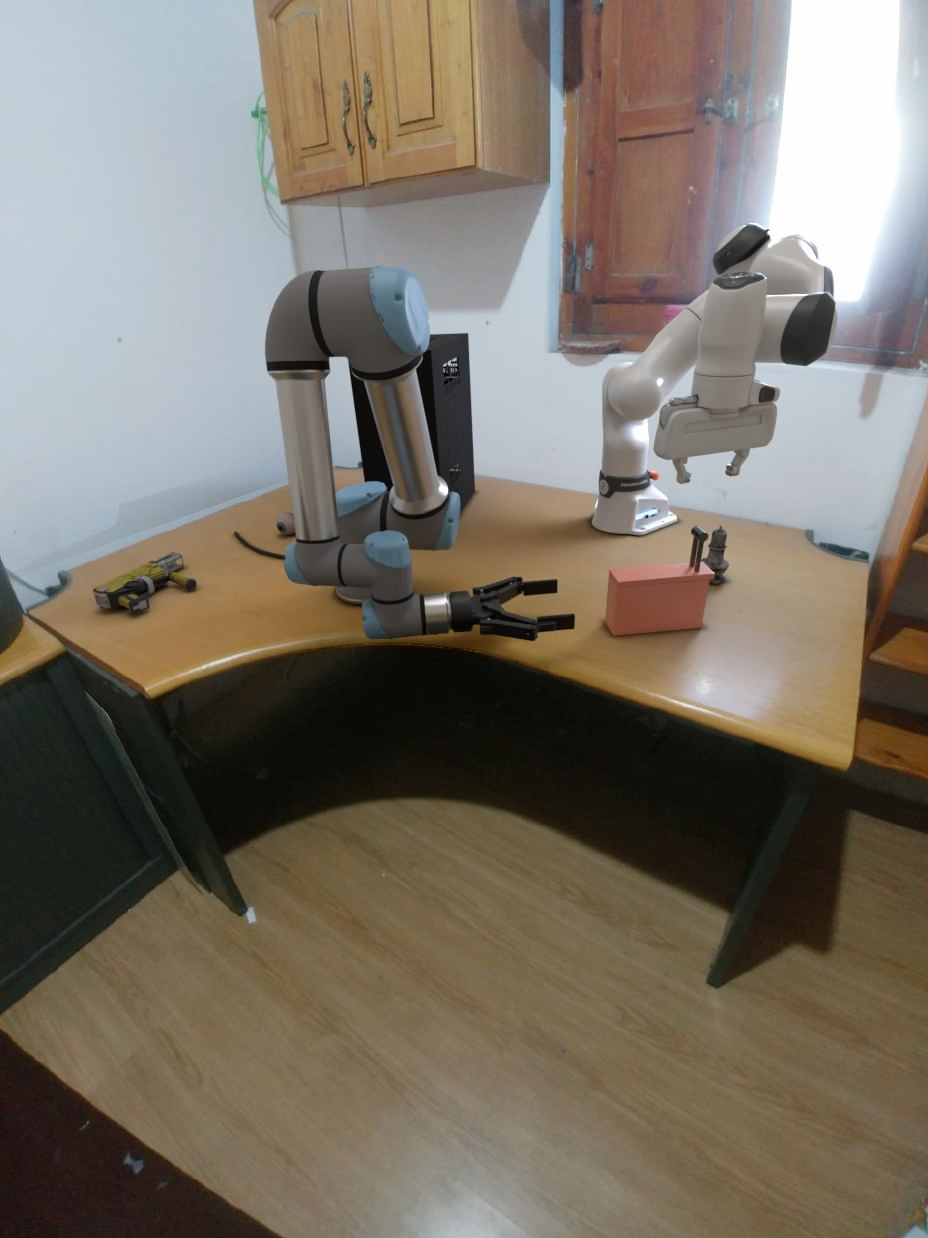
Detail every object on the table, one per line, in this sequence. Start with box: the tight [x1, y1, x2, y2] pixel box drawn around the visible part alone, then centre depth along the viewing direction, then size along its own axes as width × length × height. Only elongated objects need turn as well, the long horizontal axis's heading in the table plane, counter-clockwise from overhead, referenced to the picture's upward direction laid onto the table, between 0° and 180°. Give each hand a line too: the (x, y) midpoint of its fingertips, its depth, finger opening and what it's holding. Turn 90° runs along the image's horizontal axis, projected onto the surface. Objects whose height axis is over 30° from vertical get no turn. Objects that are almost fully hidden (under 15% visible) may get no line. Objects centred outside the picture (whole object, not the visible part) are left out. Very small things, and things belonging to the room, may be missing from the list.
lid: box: [608, 525, 715, 587], centre depth 108 cm, size 18×5×9 cm, turn 95°
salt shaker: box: [701, 525, 730, 585], centre depth 127 cm, size 6×6×12 cm
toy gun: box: [92, 551, 198, 616], centre depth 137 cm, size 5×24×15 cm
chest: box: [604, 575, 710, 637], centre depth 112 cm, size 17×5×10 cm, turn 95°
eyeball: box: [275, 511, 295, 536], centre depth 163 cm, size 6×6×6 cm
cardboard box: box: [347, 332, 476, 514], centre depth 164 cm, size 38×20×45 cm, turn 167°
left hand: (565, 602), depth 110 cm, fingers open, 13 cm apart
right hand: (707, 478), depth 101 cm, fingers open, 8 cm apart
